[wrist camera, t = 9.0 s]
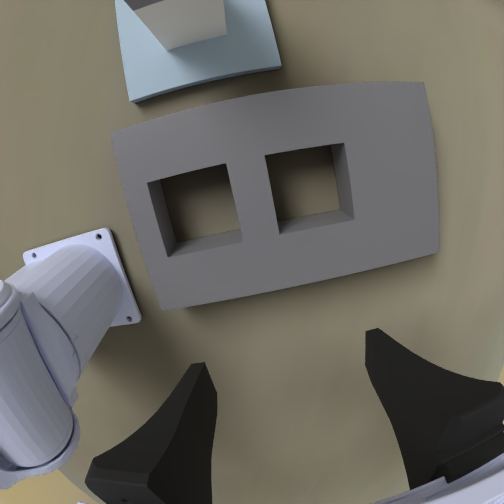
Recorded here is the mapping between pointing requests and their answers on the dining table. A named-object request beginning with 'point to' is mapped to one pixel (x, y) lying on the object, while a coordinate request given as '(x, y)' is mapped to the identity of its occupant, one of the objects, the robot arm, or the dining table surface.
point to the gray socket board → (260, 195)
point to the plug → (181, 20)
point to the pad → (196, 51)
